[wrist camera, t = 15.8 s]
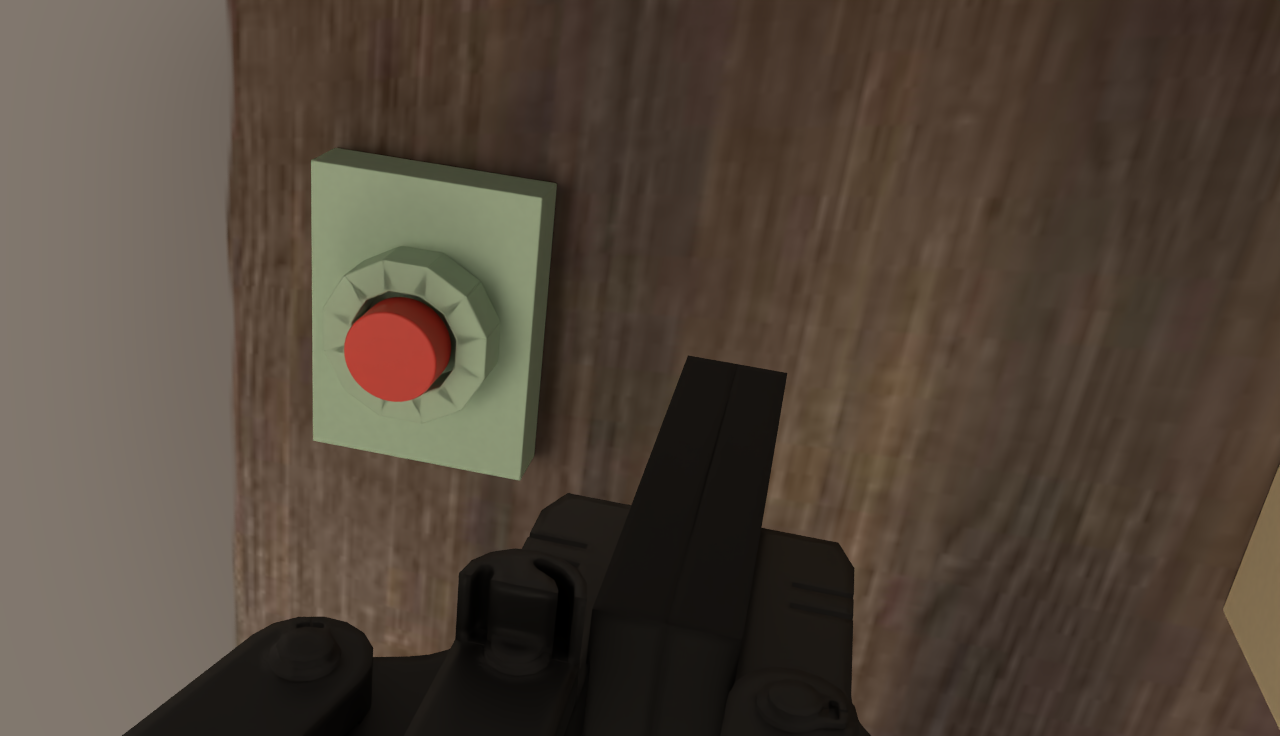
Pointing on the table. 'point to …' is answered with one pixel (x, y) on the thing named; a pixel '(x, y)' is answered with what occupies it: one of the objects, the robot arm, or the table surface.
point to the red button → (397, 349)
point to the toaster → (1260, 601)
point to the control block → (433, 304)
